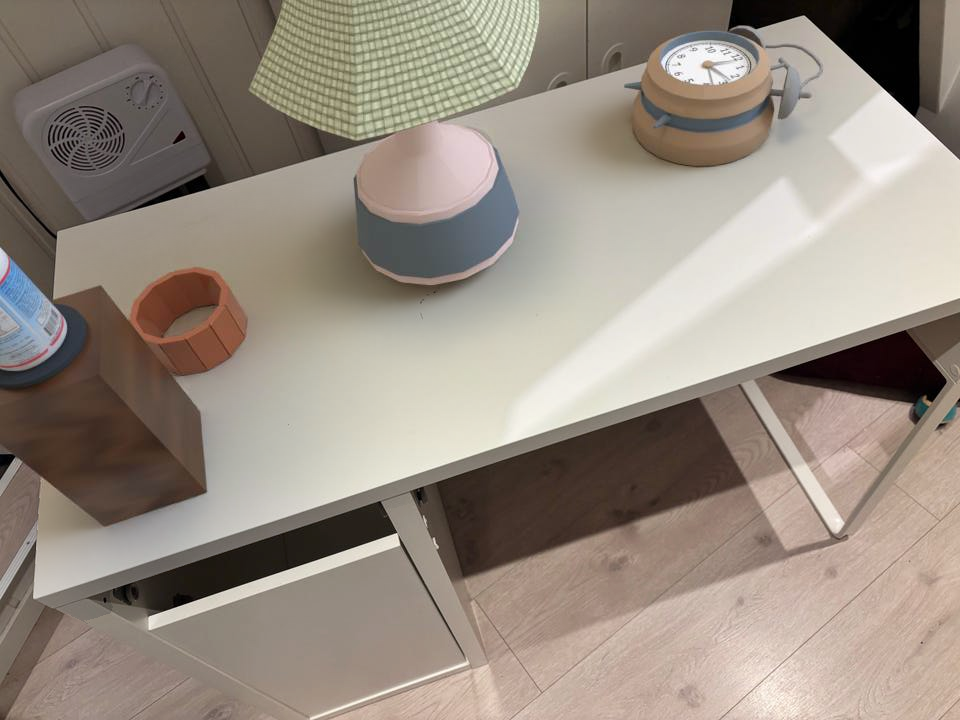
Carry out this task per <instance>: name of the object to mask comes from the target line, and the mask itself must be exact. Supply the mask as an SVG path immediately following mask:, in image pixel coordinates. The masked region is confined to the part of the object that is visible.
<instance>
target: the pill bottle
mask: <svg viewBox="0 0 960 720" xmlns="http://www.w3.org/2000/svg"><path fill="white" fill-rule="evenodd" d="M50 301H51V300H49V299H48V298H47V296H45V294H44V293H43V292H42V291H41V290H40V289H39V288H38V286H37V285H35V283H33V281H32V280H31V279H30V278H29V277H28V275H26V274H25V272H24V271H23V270H22V268H20V267H19V266H18V265H17V264H16V262H15V261H13V259H12V258H11V257H10V256H9V255H8V254H7V253H6V251H4V250H3V248H2V247H0V369H3V370H7V371H21V370H27V369H30V368H32V367H35V366H37V365H39V364H41V363H42V362H44V361H45V360H47V359H48V358H49V357H51V356H52V355H53V354H54V353H55V352H56V351H57V350H58V348H59V347H60V346H61V344H62V343H63V341H64V339H65V336H66V333H67V323H66V321H65V319H64V317H63V316H62V314H61V313H60V312H59V311H58V310H57V309H56V308H55V307H54V305H53V304H52V303H51V302H50Z"/></svg>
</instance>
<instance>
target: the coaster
mask: <svg viewBox="0 0 960 720" xmlns="http://www.w3.org/2000/svg"><path fill="white" fill-rule="evenodd" d="M53 305H54V307H55V308H56V309H57V310H58V311H59V312H60V313H61V314H62V316H63V317H64V319H65V321H66V323H67V333H66V336H65V339H64V341H63V343H62V344H61V346H60V347H59V348H58V350H57V351H56V352H55V353H54V354H53V355H52V356H51V357H49V358H48V359H47V360H45V361H44V362H42V363H41V364H39V365H37V366H35V367H32V368H30V369H27V370H21V371H7V370H3V369H0V387H4V388H10V389H18V388H26V387H30V386H34V385H36V384H39V383H42V382H44V381H46V380H48V379H50V378H51V377H53V376H55V375H56V374H58V373H59V372H61V371H62V370H63V369H65V368H66V367H67V366H68V365H69V364H70V363H71V362H72V361H73V360H74V359H75V358H76V356H77V355H78V354H79V352H80V351H81V349H82V347H83V345H84V343H85V340H86V337H87V325H86V322H85V320H84V318H83V317H82V316H81V314H80V313H79V312H78V311H77V310H75V309H74V308H72V307H70V306H67V305H62V304H53Z"/></svg>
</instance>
